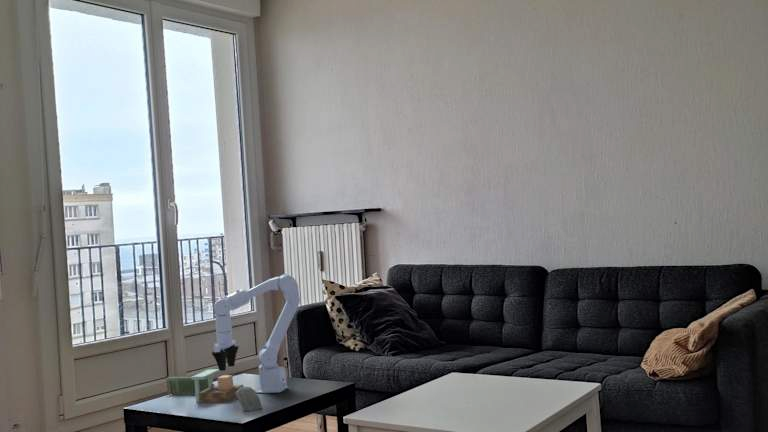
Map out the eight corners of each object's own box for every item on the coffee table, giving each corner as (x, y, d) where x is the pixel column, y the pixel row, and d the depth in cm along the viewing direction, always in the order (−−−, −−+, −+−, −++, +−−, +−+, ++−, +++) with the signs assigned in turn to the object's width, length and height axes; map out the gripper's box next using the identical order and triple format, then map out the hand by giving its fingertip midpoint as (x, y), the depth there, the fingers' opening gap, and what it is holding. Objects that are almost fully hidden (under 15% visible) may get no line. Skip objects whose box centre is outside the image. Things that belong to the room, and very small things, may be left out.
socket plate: (243, 393, 296) (243, 384, 296) (229, 401, 285) (228, 392, 285) (214, 394, 299) (213, 385, 299) (199, 402, 288) (198, 393, 288)
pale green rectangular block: (222, 394, 299) (220, 369, 299) (206, 402, 286) (203, 376, 286) (210, 394, 300) (208, 369, 300) (193, 403, 288) (191, 376, 288)
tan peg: (234, 396, 293) (232, 375, 293) (229, 399, 289) (227, 377, 289) (224, 397, 294) (222, 375, 294) (219, 399, 290) (217, 377, 290)
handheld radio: (171, 393, 311) (227, 392, 302) (166, 395, 308) (222, 395, 299) (170, 376, 310) (225, 375, 302) (164, 378, 307) (220, 377, 299)
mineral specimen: (244, 404, 275) (246, 381, 275) (263, 411, 271) (266, 388, 270) (229, 409, 269) (232, 386, 268) (249, 416, 265) (251, 392, 264)
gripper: (222, 329, 302) (225, 364, 302) (205, 335, 288) (208, 372, 288) (239, 328, 301) (242, 364, 301) (223, 334, 287) (226, 372, 286)
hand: (226, 368), depth 294 cm, fingers open, 7 cm apart
